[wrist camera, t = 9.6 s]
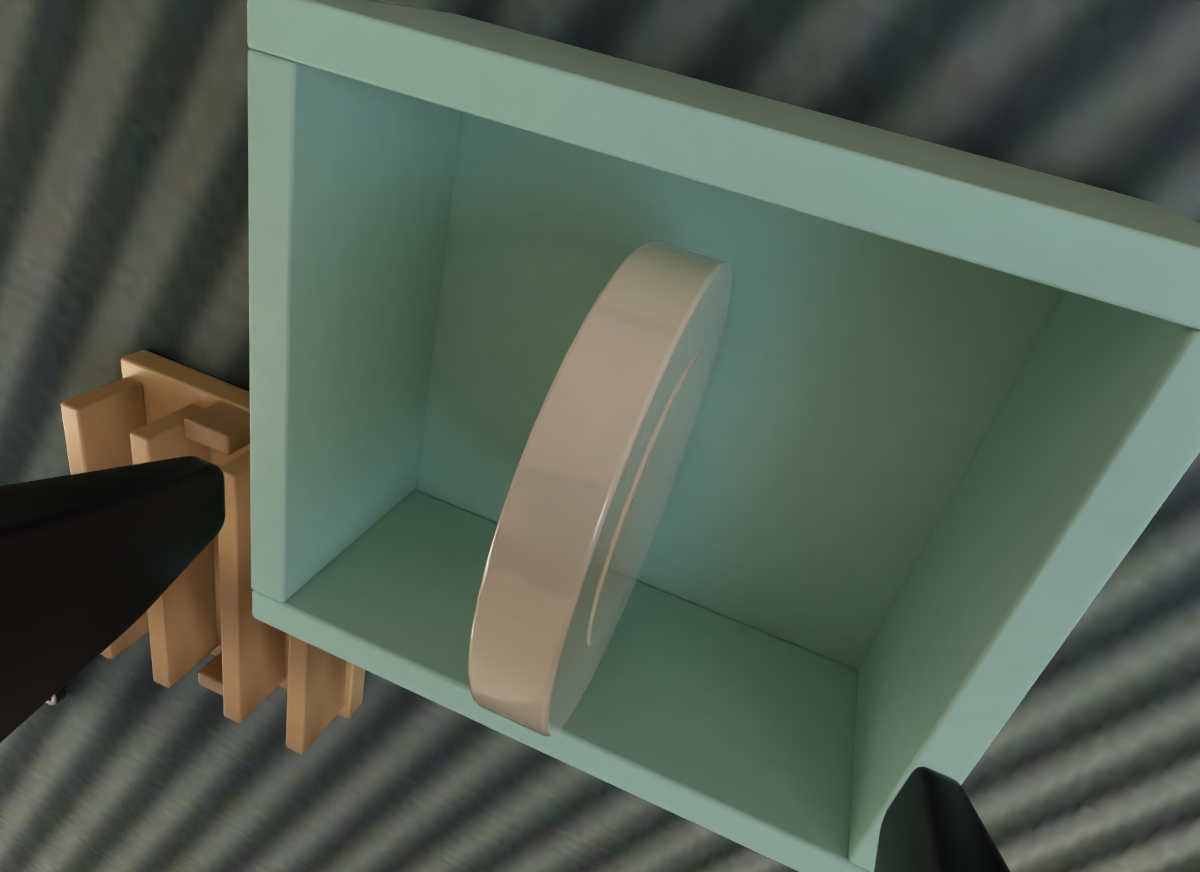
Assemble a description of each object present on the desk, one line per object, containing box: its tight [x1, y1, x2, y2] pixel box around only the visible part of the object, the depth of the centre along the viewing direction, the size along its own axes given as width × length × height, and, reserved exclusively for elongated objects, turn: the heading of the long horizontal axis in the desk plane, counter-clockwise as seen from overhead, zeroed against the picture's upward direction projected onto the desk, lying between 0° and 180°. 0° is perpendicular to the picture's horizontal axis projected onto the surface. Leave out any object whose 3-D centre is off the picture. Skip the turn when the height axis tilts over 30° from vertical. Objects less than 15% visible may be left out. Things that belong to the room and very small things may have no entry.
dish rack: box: [61, 350, 366, 754], centre depth 22 cm, size 10×8×3 cm
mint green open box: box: [247, 0, 1200, 872], centre depth 14 cm, size 12×13×6 cm
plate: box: [468, 239, 732, 736], centre depth 13 cm, size 8×1×8 cm, turn 166°
